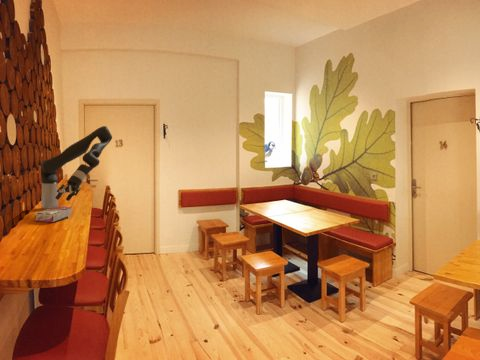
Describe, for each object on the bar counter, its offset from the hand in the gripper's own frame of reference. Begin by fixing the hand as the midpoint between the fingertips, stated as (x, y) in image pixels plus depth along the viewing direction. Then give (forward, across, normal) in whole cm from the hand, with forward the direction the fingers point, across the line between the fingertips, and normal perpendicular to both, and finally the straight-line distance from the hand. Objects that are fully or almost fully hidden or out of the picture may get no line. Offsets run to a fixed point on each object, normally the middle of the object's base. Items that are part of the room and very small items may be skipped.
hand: (61, 199), depth 204 cm
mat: (+13, -1, -2) cm, 13 cm away
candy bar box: (+4, 0, -5) cm, 7 cm away
